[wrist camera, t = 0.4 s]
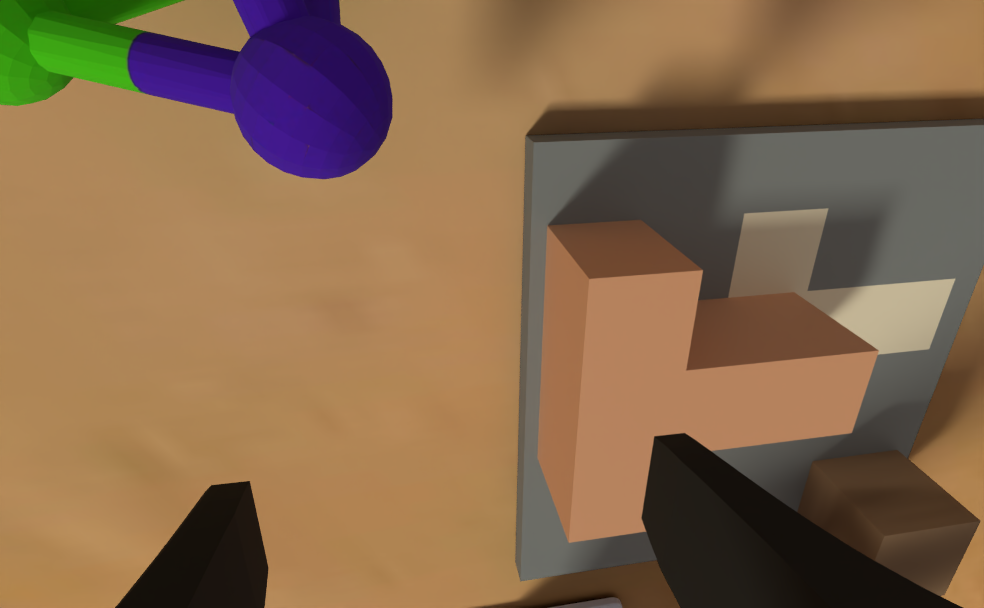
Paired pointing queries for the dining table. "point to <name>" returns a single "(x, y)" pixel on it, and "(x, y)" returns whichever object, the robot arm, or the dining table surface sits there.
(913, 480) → the walnut cube
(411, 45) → the dining table surface
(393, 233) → the dining table surface
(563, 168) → the board
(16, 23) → the decorative model
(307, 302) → the dining table surface
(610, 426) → the t block
